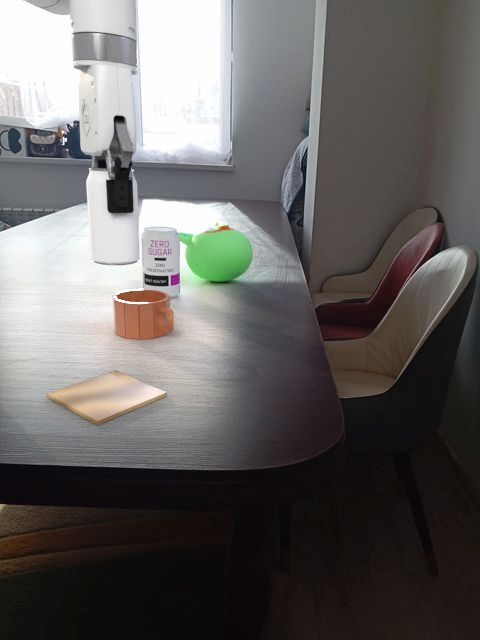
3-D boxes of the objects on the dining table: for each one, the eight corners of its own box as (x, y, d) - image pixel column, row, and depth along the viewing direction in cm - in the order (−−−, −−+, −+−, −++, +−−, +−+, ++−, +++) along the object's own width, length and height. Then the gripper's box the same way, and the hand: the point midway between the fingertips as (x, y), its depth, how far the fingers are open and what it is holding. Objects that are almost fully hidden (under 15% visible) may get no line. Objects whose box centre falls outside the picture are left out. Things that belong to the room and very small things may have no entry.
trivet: (46, 397, 67) (46, 393, 67) (115, 373, 76) (115, 369, 76) (97, 425, 61) (97, 421, 61) (166, 396, 70) (166, 392, 69)
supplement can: (169, 289, 123) (168, 225, 118) (186, 297, 117) (186, 230, 111) (137, 293, 118) (135, 226, 113) (153, 301, 112) (151, 232, 107)
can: (144, 257, 74) (142, 170, 70) (133, 267, 68) (129, 171, 64) (99, 255, 74) (94, 167, 70) (84, 264, 68) (77, 168, 64)
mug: (103, 330, 93) (101, 295, 91) (145, 318, 101) (144, 286, 98) (151, 348, 86) (150, 310, 84) (192, 334, 94) (192, 300, 91)
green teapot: (218, 292, 123) (219, 229, 118) (169, 279, 132) (168, 221, 127) (263, 280, 137) (266, 224, 131) (216, 270, 146) (217, 217, 141)
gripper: (59, 61, 67) (70, 202, 74) (91, 42, 53) (100, 218, 60) (116, 68, 71) (122, 203, 77) (160, 52, 57) (162, 217, 63)
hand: (112, 208), depth 68 cm, fingers closed on can, 6 cm apart
